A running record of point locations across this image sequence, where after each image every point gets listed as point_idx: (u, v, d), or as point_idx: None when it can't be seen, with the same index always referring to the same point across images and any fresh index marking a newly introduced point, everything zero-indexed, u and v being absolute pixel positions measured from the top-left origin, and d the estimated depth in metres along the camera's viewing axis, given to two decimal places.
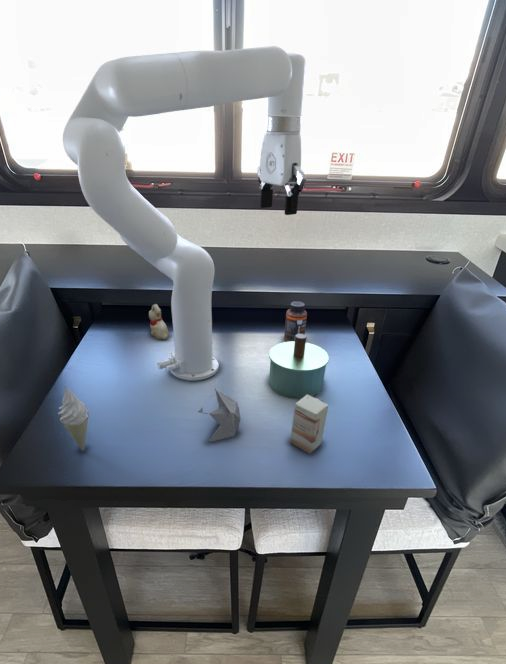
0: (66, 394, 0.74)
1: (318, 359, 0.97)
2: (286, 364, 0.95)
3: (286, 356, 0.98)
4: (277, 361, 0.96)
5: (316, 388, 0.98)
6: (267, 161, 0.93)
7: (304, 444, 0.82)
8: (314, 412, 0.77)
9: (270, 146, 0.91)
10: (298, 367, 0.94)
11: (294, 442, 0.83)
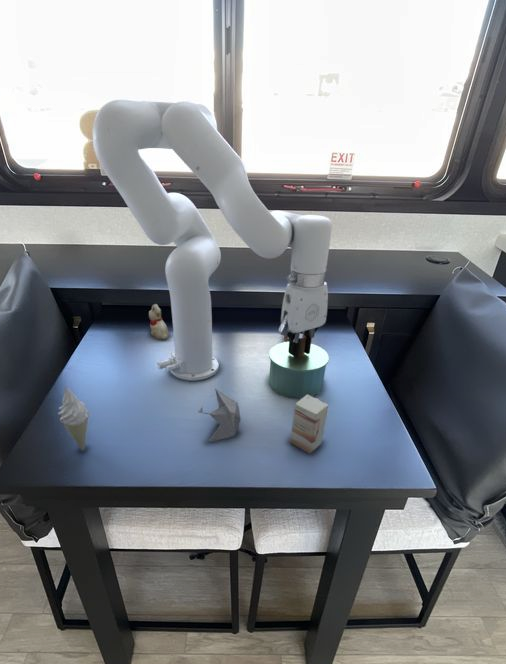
0: (66, 394, 0.74)
1: (318, 359, 0.97)
2: (286, 364, 0.95)
3: (286, 356, 0.98)
4: (277, 361, 0.96)
5: (316, 388, 0.98)
6: (307, 312, 0.90)
7: (304, 444, 0.82)
8: (314, 412, 0.77)
9: (312, 298, 0.89)
10: (298, 367, 0.94)
11: (294, 442, 0.83)
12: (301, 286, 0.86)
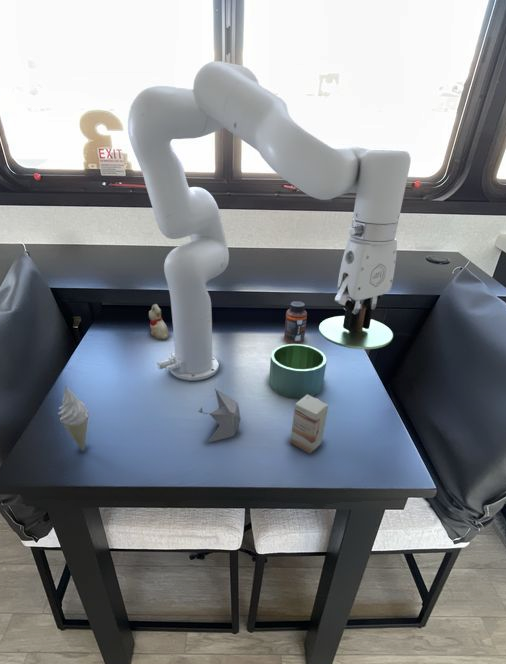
0: (66, 394, 0.74)
1: (381, 335, 0.80)
2: (343, 340, 0.78)
3: (341, 332, 0.81)
4: (331, 337, 0.79)
5: (316, 388, 0.98)
6: (372, 275, 0.73)
7: (304, 444, 0.82)
8: (314, 412, 0.77)
9: (379, 257, 0.71)
10: (358, 343, 0.77)
11: (294, 442, 0.83)
12: (368, 240, 0.69)
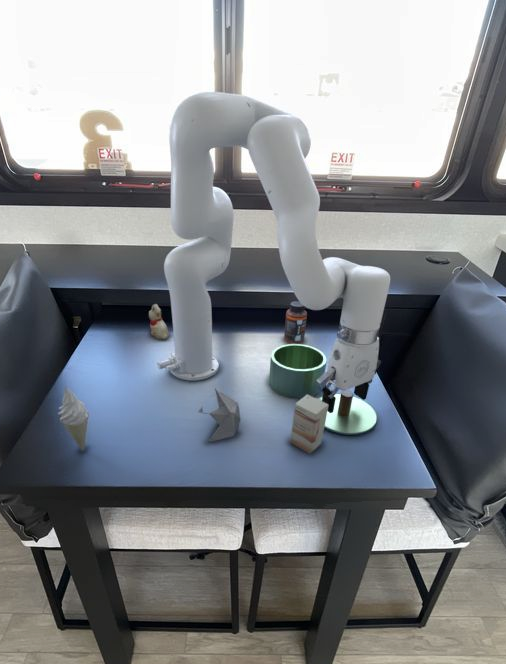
0: (66, 394, 0.74)
1: (366, 418, 0.90)
2: (332, 425, 0.88)
3: (330, 414, 0.91)
4: None
5: (316, 388, 0.98)
6: (356, 369, 0.82)
7: (304, 444, 0.82)
8: (314, 412, 0.77)
9: (363, 355, 0.81)
10: (345, 428, 0.87)
11: (294, 442, 0.83)
12: (353, 343, 0.79)
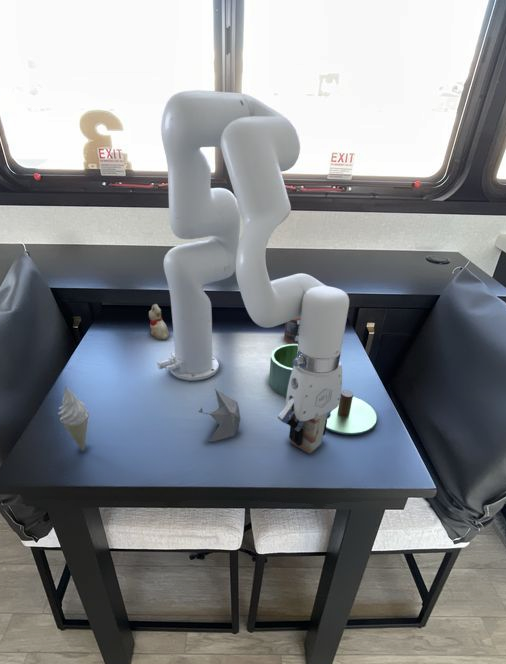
0: (66, 394, 0.74)
1: (366, 418, 0.90)
2: (332, 425, 0.88)
3: None
4: None
5: None
6: (317, 399, 0.75)
7: (304, 444, 0.82)
8: None
9: (324, 383, 0.73)
10: (345, 428, 0.87)
11: None
12: (311, 371, 0.71)
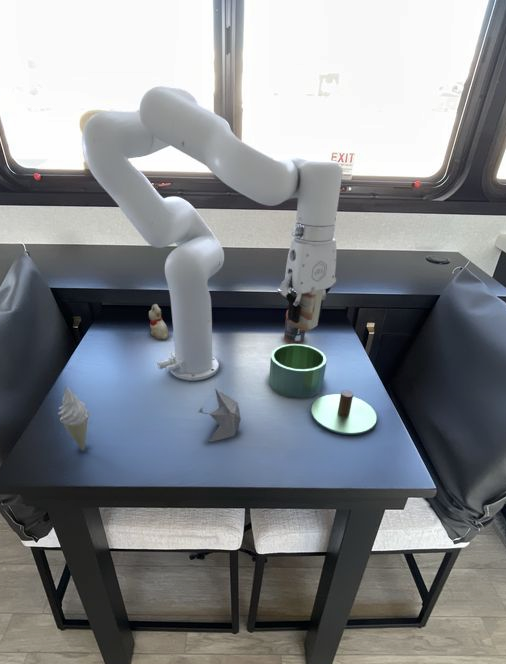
0: (66, 394, 0.74)
1: (366, 418, 0.90)
2: (332, 425, 0.88)
3: (330, 414, 0.91)
4: (322, 421, 0.89)
5: (316, 388, 0.98)
6: (313, 271, 0.82)
7: (301, 322, 0.89)
8: None
9: (319, 255, 0.81)
10: (345, 428, 0.87)
11: (292, 323, 0.91)
12: (307, 240, 0.79)
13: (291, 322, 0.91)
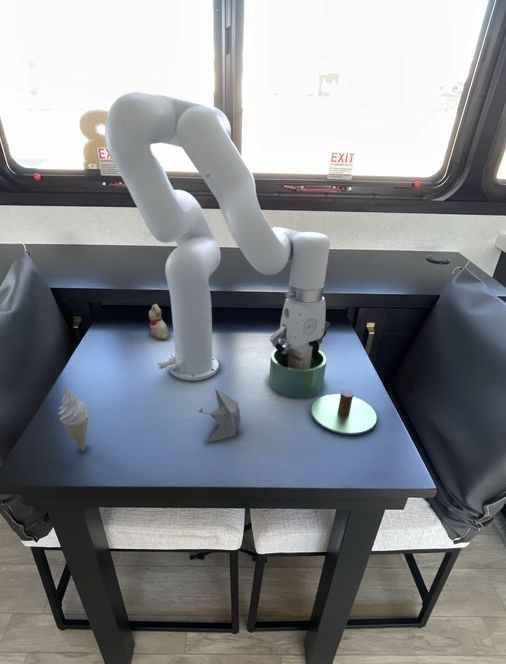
0: (66, 394, 0.74)
1: (366, 418, 0.90)
2: (332, 425, 0.88)
3: (330, 414, 0.91)
4: (322, 421, 0.89)
5: (316, 388, 0.98)
6: (305, 326, 0.92)
7: None
8: (299, 351, 0.95)
9: (310, 313, 0.91)
10: (345, 428, 0.87)
11: None
12: (299, 301, 0.88)
13: None
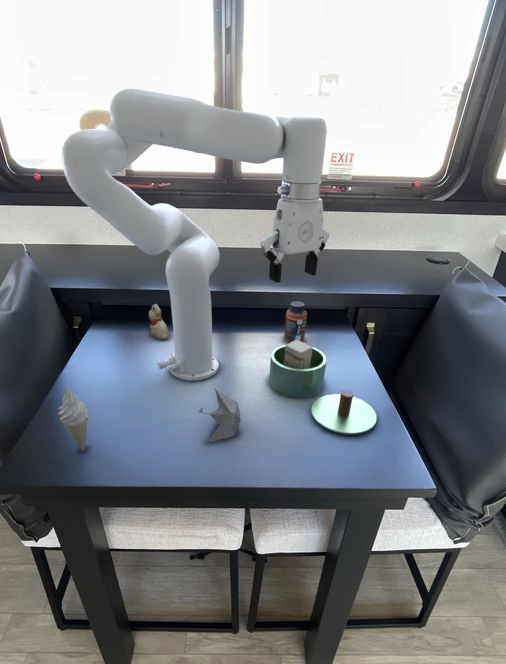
0: (66, 394, 0.74)
1: (366, 418, 0.90)
2: (332, 425, 0.88)
3: (330, 414, 0.91)
4: (322, 421, 0.89)
5: (316, 388, 0.98)
6: (300, 231, 0.82)
7: None
8: (299, 351, 0.95)
9: (306, 214, 0.81)
10: (345, 428, 0.87)
11: None
12: (294, 198, 0.79)
13: None
